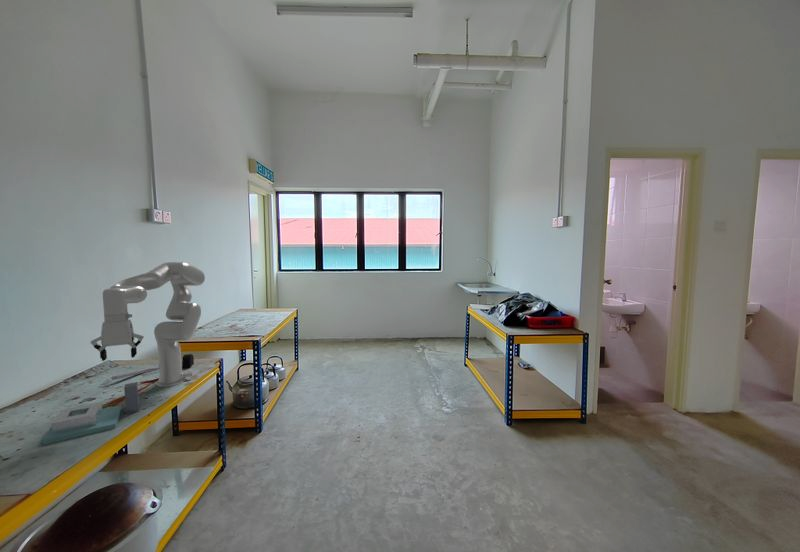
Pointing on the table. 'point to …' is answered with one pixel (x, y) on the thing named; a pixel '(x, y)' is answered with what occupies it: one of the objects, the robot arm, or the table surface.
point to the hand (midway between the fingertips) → (119, 358)
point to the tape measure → (187, 361)
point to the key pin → (131, 397)
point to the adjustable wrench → (134, 372)
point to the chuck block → (82, 422)
